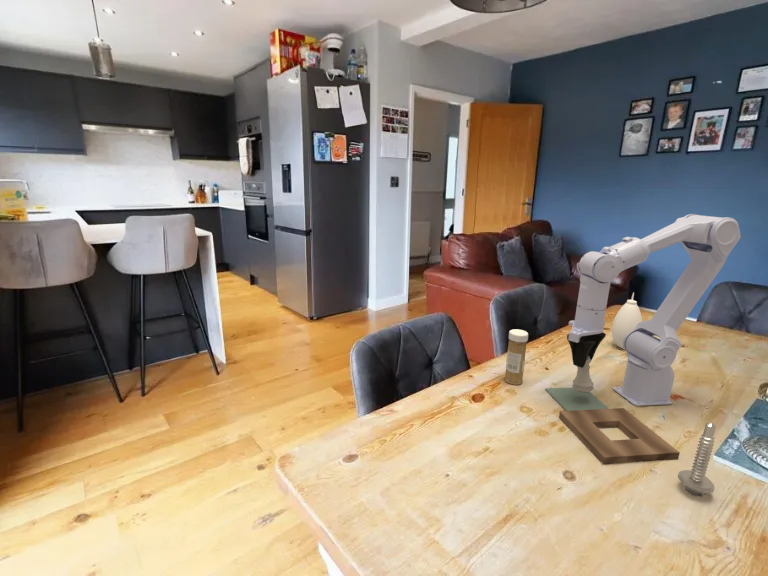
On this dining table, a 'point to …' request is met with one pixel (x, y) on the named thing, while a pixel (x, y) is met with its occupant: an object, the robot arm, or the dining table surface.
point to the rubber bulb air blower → (625, 321)
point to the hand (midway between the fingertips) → (581, 363)
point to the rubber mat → (575, 399)
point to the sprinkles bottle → (516, 356)
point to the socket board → (635, 449)
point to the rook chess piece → (583, 379)
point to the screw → (700, 465)
